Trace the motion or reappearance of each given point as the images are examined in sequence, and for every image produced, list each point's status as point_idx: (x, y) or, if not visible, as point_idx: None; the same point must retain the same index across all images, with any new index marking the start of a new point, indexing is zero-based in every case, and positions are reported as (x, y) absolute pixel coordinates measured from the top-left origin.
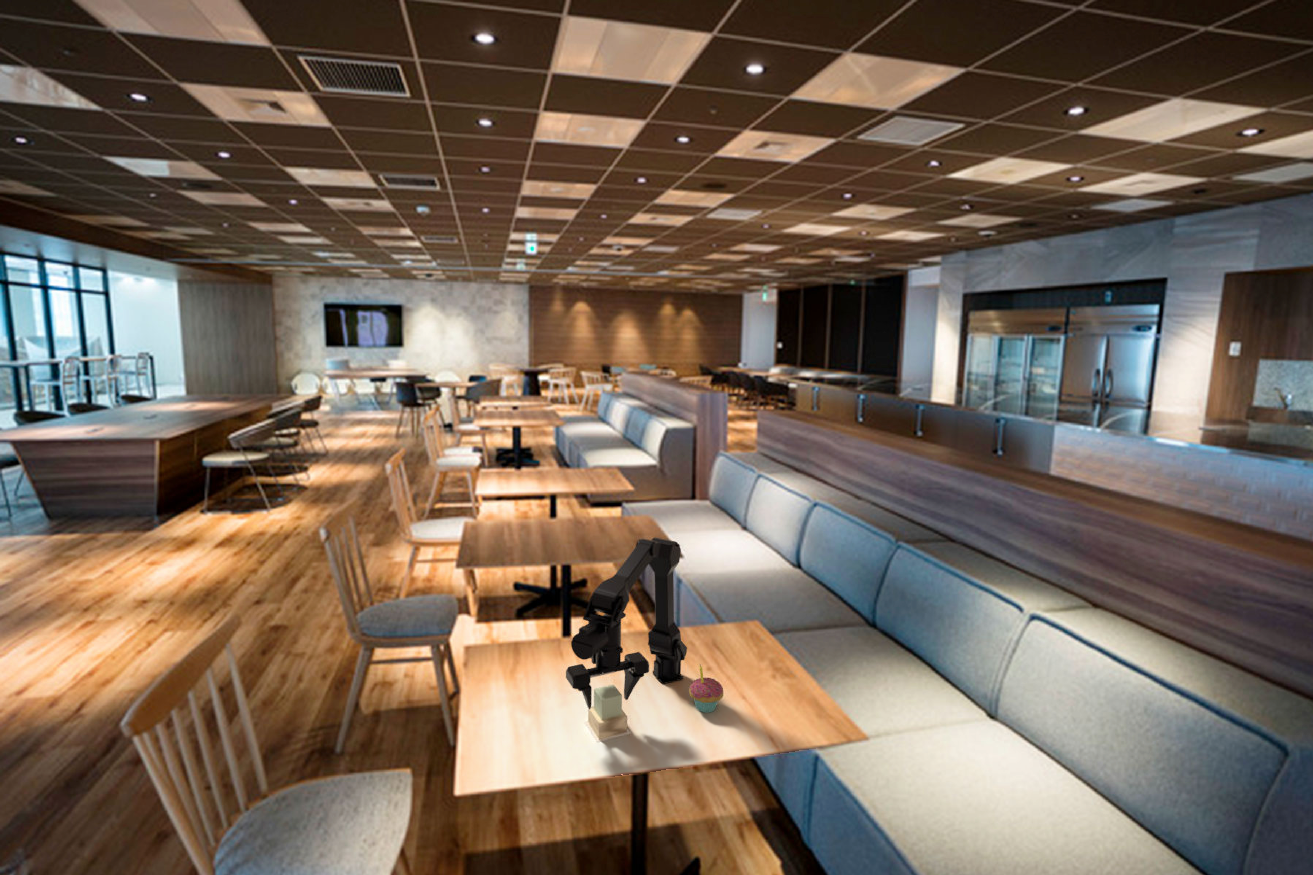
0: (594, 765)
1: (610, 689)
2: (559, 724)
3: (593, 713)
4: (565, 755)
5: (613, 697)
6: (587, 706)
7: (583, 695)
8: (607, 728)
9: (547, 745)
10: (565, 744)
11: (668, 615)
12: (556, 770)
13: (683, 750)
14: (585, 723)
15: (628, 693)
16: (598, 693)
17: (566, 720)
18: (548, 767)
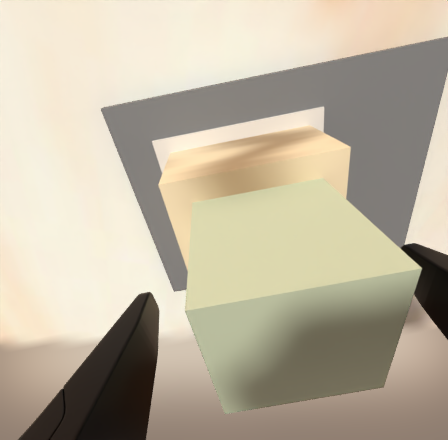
0: (175, 329)
1: (341, 329)
2: (24, 107)
3: (185, 243)
4: (89, 290)
5: (314, 395)
6: (138, 299)
7: (77, 374)
8: None
9: (9, 240)
10: (81, 245)
11: None
12: (71, 333)
13: (412, 311)
14: (157, 153)
15: (444, 327)
16: (217, 362)
17: (56, 77)
18: (44, 323)
